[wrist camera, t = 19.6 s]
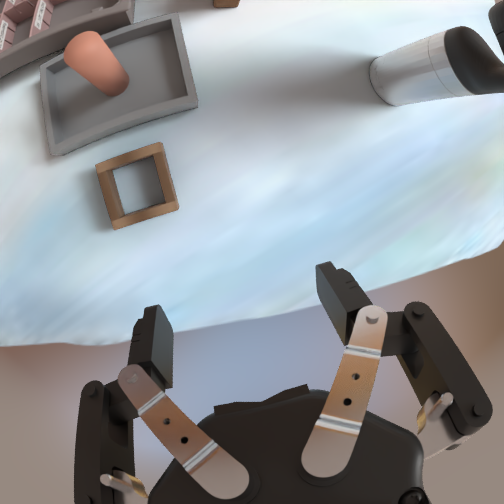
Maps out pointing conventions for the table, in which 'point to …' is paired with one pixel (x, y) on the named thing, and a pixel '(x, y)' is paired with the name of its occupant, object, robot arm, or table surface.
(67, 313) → the table surface
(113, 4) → the organizer tray
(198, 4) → the table surface
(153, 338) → the robot arm
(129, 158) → the dowel collar
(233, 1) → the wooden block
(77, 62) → the dowel
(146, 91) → the tray
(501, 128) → the table surface
